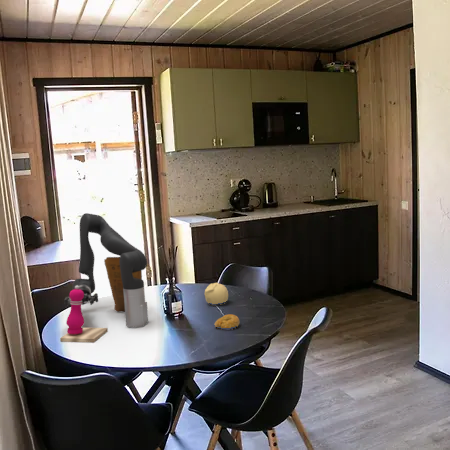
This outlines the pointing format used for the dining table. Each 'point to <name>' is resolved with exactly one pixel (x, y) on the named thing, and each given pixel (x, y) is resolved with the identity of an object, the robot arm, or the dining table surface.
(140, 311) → the robot arm
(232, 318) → the bagel
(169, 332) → the dining table surface
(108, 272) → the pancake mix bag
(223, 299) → the tan round lump
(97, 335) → the birch board
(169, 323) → the dining table surface
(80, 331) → the pepper mill
